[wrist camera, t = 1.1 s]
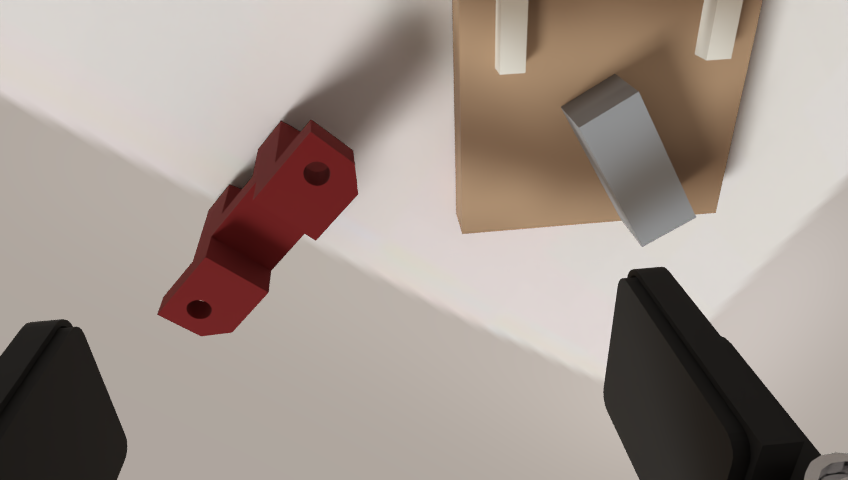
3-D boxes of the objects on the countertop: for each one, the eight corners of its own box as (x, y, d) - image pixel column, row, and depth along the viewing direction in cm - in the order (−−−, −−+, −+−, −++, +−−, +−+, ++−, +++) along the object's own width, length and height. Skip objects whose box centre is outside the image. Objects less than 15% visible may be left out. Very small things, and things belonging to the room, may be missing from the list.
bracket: (373, 177, 23) (220, 345, 26) (364, 119, 27) (235, 268, 31) (310, 131, 21) (157, 314, 25) (312, 79, 26) (184, 238, 29)
